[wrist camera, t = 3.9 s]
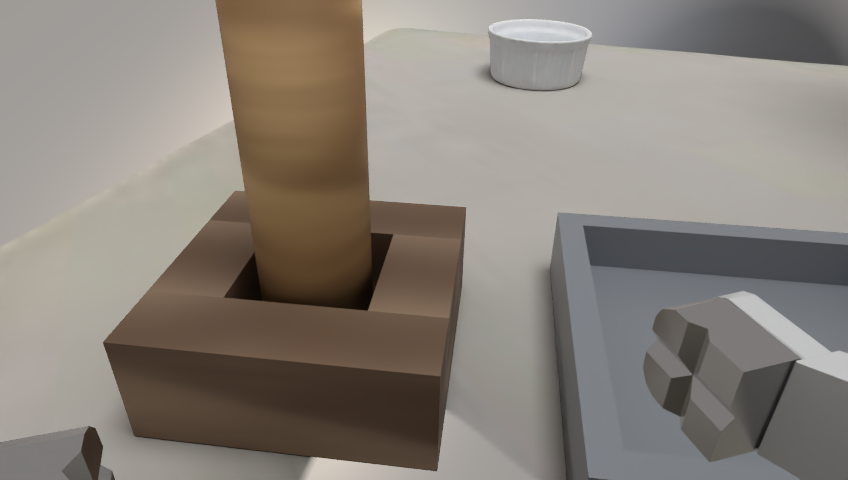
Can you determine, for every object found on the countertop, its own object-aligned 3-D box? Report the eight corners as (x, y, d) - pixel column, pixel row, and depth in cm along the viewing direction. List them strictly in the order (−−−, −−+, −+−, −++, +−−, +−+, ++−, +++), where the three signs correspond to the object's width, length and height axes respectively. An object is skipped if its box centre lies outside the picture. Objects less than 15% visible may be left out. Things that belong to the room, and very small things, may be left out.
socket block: (247, 267, 29) (235, 190, 27) (461, 285, 28) (465, 207, 26) (134, 435, 20) (102, 342, 18) (437, 471, 19) (440, 376, 17)
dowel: (290, 313, 26) (233, -132, 18) (383, 322, 25) (371, -130, 17) (255, 380, 22) (164, -132, 14) (363, 391, 22) (334, -129, 14)
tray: (550, 268, 29) (558, 212, 27) (867, 294, 27) (895, 236, 26) (572, 547, 17) (588, 477, 16) (1133, 619, 16) (1214, 549, 14)
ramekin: (514, 60, 61) (518, 14, 58) (600, 76, 56) (608, 27, 54) (466, 81, 54) (468, 30, 52) (558, 101, 50) (565, 47, 48)
